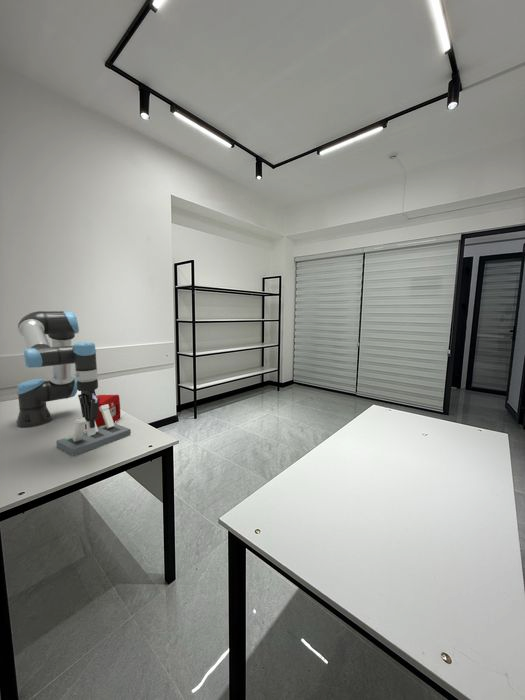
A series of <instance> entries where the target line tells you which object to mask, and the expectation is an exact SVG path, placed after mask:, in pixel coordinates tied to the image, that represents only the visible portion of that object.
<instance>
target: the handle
mask: <svg viewBox="0 0 525 700" xmlns="http://www.w3.org/2000/svg"><path fill="white" fill-rule="evenodd" d="M99 409H100V411H101V412H102V415H103V418H104V421H105V424H106V426H107V429H108V428H111V427H114V426H115V425H114V423H115V422H113V419H112V416H111V414H110V411H109V405H108V404H106V405H102V406H100V407H99Z"/></svg>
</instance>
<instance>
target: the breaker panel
mask: <svg viewBox="0 0 525 700" xmlns="http://www.w3.org/2000/svg"><path fill="white" fill-rule="evenodd" d="M114 425H115V426H114V427H111V428H108V429H107V426H106V425H103V426H100V427H97V428H98V432H96V434H94V435H91V436H88V435H87V430H84V432H83V436H82V440H79V441H76V442H74V440H73V435H74V434H73V435H69V436H67V437H64V438H61V439H60V438H59V439H57V440H56V442H55V444H56V448H58V449H60V450H61V449H62V451H64V452H65V453H67V454H68V453H69V455H70V456H72V457H77V456H80V455H82V454H84V452H85V453H87V452H90V451H93V450H96V449H98V448H100V446H101V447H103V446H105V445H108V444H111V443H114V442H117V441H120V440H121V438H122V439H124V438H127V437H129V436H128V435H130V434H131V435H132V432H131V428H129V427H126V426H123V425H120V424H118V423H116V422H114ZM131 435H130V436H131ZM126 436H127V437H126ZM123 437H124V438H123ZM113 441H114V442H113ZM76 455H77V456H76Z"/></svg>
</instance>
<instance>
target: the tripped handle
mask: <svg viewBox="0 0 525 700" xmlns="http://www.w3.org/2000/svg"><path fill="white" fill-rule="evenodd" d="M74 424H75V427H74V432H73V440H74V442H76V441H79V440H82V436H83V432H85V424H86V420H85V417H84V418H83V417H81V418H78V419H75V423H74Z"/></svg>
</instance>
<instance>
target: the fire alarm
mask: <svg viewBox="0 0 525 700" xmlns="http://www.w3.org/2000/svg"><path fill="white" fill-rule="evenodd" d="M96 398H99V399H100V400H99V405H98V419H95V422H96V425H97V427H100V426H103V425H106V424H105V421H104V418H103V415H102V412H101V411H100V409H99V407H100V406H102V405H106V404H108V405H109V411H110V414H111V416H112V419H113V422H114V423H116V422H117V421H119V420H120V419H121V401H120V395H119V394H99V395H96ZM119 418H120V419H119ZM118 419H119V420H118ZM116 420H117V421H116ZM115 421H116V422H115ZM84 430H87V425H86V424H85V428H84Z"/></svg>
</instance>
